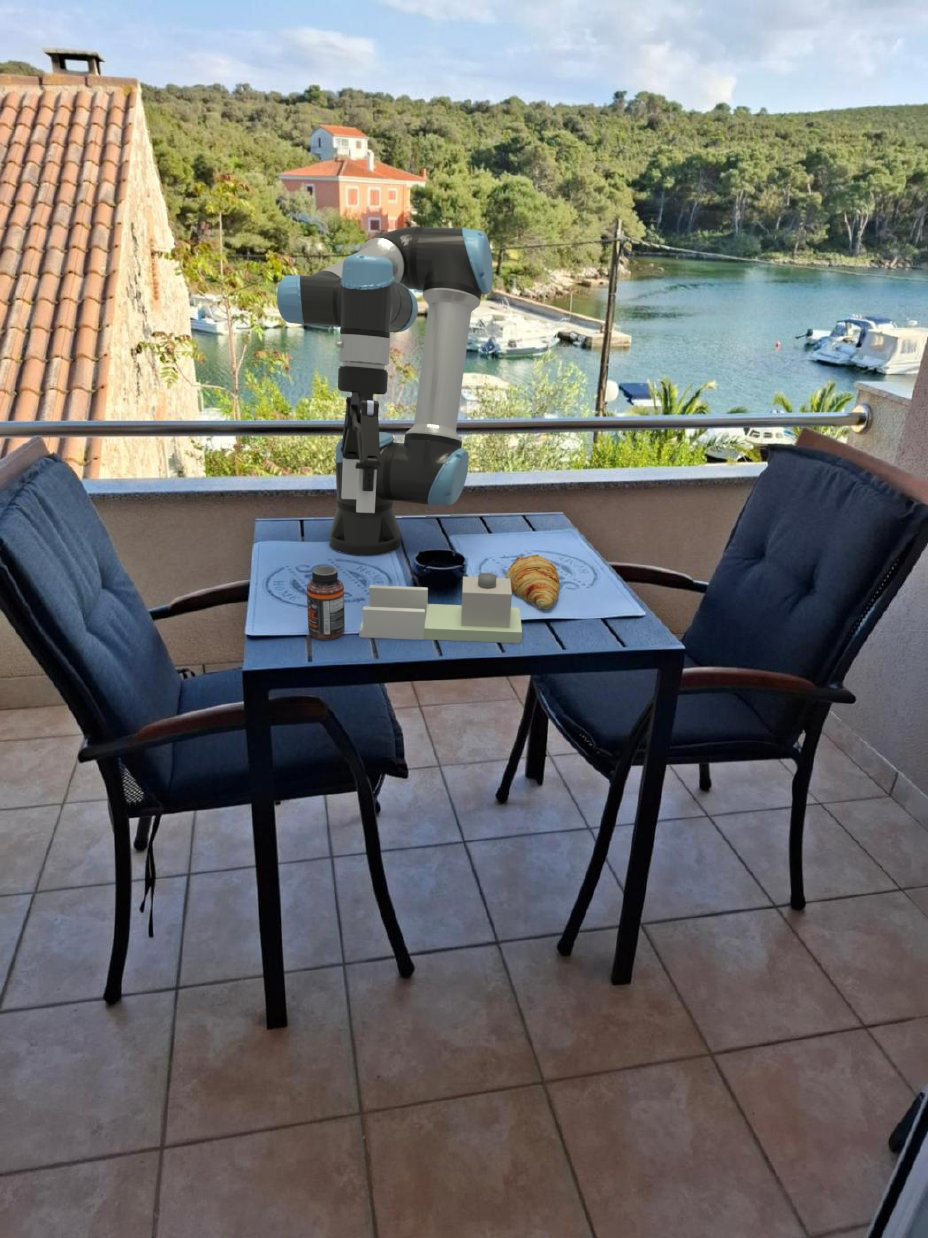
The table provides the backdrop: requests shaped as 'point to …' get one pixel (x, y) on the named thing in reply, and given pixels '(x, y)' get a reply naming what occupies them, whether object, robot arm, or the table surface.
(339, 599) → the supplement bottle
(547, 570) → the croissant
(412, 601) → the cream block stand
